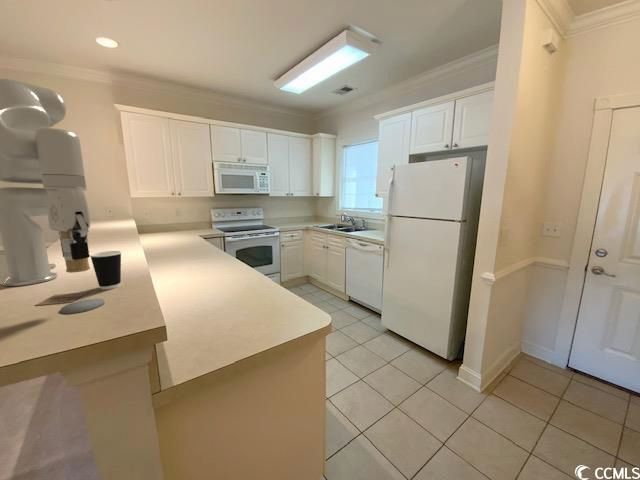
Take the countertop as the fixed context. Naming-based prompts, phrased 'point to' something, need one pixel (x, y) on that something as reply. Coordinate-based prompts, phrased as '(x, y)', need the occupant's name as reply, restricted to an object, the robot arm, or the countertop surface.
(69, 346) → the countertop surface
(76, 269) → the sprinkles bottle
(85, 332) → the countertop surface
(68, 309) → the coaster
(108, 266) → the dixie cup
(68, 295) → the tile
